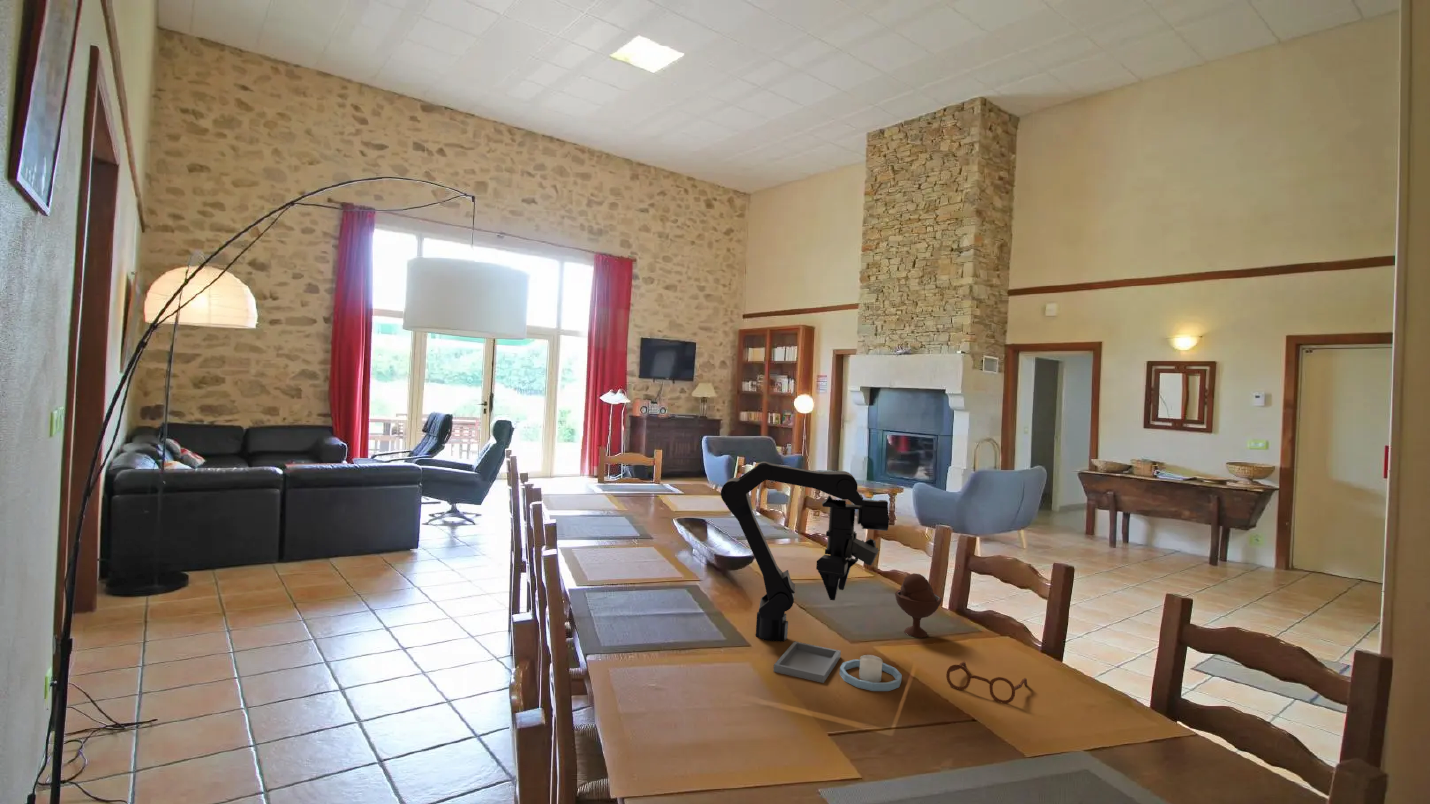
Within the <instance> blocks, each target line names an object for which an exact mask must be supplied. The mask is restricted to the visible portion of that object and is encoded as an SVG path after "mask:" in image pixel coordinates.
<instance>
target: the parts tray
mask: <svg viewBox="0 0 1430 804" xmlns="http://www.w3.org/2000/svg"><path fill="white" fill-rule="evenodd" d="M841 651H842V650H839V649H835V648H829V647H825V646H824V647H823V646H821V645H814V644H811V643H805V642H801V641H800V642H799V641H793V642H792V643H791V645H790V646H789V647H788V648H787V649H786V650H785V652H784V653H783V654H782V655H781V656H780V657H779V658H778V660H776V662H775V663H773V673H777V674H781V675H786V676H790V677H794V678H799V679H805V680H807V681H812V682H817V683H821V684H824V683H825V682H826V681H827V679H828V677H829V676H830V675H831V672H832V671H833V670H834V668H835V667H836V665H837V663H838V662H839V660H840V658H841V655H842V654H841V653H842V652H841Z"/></svg>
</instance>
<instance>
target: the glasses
mask: <svg viewBox="0 0 1430 804" xmlns="http://www.w3.org/2000/svg"><path fill="white" fill-rule="evenodd" d="M960 669H961V670H963V671H964V672H965V674H966V676H967V680H966V683H965V684H964V686H958V685H955V684H954V682H952V680H951V677H950V675H951V672H954V671H955V672H956V671H958V670H960ZM971 679H976V680H979V681H982V682H985V683H987V684H989V686H988V687H989V694H990V696H991V698H992V699H993V700H994V701H996V702H998V701H999V702H998V703H1001V702H1002V704H1009V703H1011V702H1012V701H1013V700H1014V699H1015V696H1016V690H1019V689H1021V688H1022V687H1023V685H1027V686H1028V679H1027V678H1026V677H1024V678H1022V679H1021V681H1020V683H1018V684H1016V685H1014V684H1013V682H1012V681H1010V680H1009V679H1008V678H1005V677H1003V676H1002V677H1001V676H997V677H994V678H992V679H990V680H989V679H988V678H986V677H984V676H983V677H982V676H979V675H971V672H970V671H969V670H968V669H967V664H966V662H965V661H962V662H960V663H959V664H953V665H951V666H949V667H948V668H947V671H946V680H947V683H948V685H949V686H950V687H951V688H953V687H954V688H953V689H956V690H960V691H962V690H966V689H967V688H968V687H969V685H970V683H971V681H972V680H971ZM997 681H1003V682H1005V683H1007V684H1008V685H1009V687H1010V689H1011V694H1010V697H1009V698H1008V699H1005V700H1004V699H1000V698H998V697H997V696H996V695H995V693H994V690H993V689H994V684H995V682H997Z"/></svg>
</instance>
